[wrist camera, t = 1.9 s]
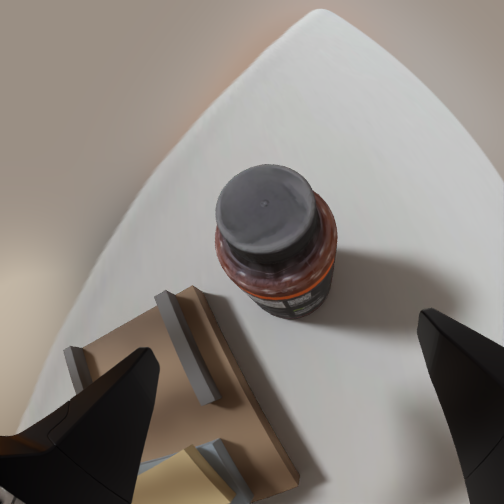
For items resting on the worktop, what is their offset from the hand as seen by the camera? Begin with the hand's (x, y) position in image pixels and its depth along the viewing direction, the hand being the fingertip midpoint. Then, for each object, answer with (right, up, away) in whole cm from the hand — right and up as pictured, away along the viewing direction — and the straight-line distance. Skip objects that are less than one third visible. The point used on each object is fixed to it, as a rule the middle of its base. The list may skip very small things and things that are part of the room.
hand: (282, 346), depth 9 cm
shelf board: (-7, -10, +11) cm, 16 cm away
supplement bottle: (+2, +1, +13) cm, 13 cm away
